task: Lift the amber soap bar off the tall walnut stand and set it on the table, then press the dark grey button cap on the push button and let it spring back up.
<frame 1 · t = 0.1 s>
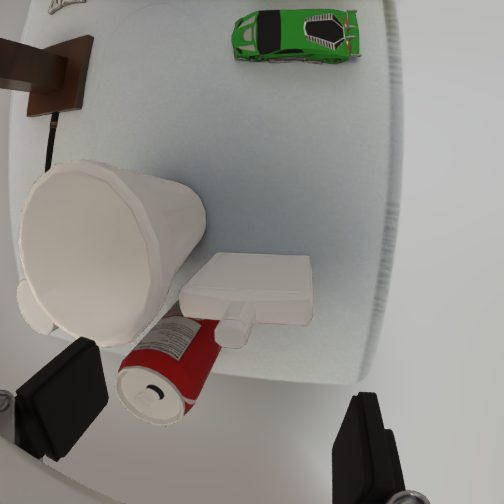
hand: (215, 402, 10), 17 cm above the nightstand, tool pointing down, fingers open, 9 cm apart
stand: (59, 77, 25), on the nightstand
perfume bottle: (262, 263, 26), on the nightstand
toy car: (294, 39, 21), on the nightstand
pill bottle: (101, 269, 29), on the nightstand
fountain pen: (50, 144, 27), on the nightstand, touching stand
soda can: (202, 317, 29), on the nightstand
cup: (174, 217, 27), on the nightstand
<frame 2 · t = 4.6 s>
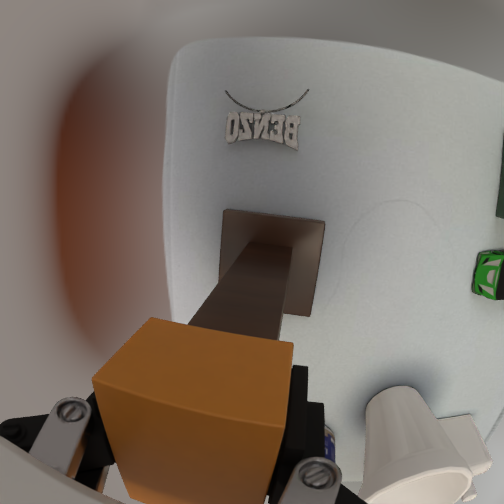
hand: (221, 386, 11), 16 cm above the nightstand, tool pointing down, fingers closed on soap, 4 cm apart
soap: (215, 401, 10), point 17 cm above the nightstand, touching gripper, stand
stand: (269, 262, 26), on the nightstand
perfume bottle: (442, 421, 28), on the nightstand
necklace: (265, 117, 23), on the nightstand
cup: (392, 404, 28), on the nightstand
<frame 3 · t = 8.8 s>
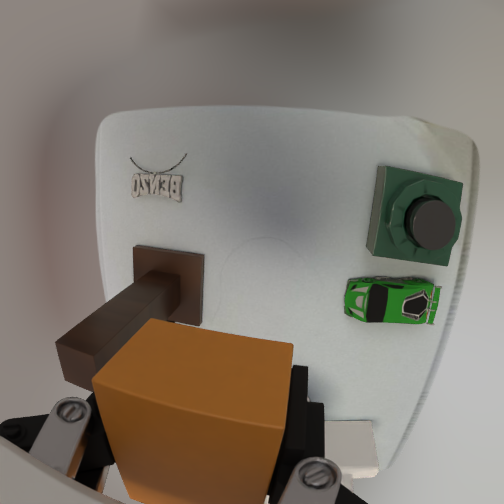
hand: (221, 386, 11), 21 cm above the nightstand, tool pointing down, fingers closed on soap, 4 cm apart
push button: (409, 213, 28), on the nightstand
soap: (215, 402, 10), point 22 cm above the nightstand, touching gripper
stand: (168, 284, 34), on the nightstand
dark grey button cap: (430, 223, 23), point 6 cm above the nightstand, slide at 0.1 cm
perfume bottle: (341, 424, 36), on the nightstand
toy car: (389, 296, 31), on the nightstand
necklace: (159, 176, 31), on the nightstand
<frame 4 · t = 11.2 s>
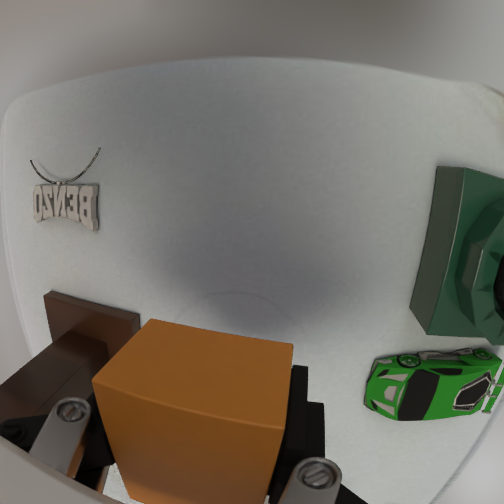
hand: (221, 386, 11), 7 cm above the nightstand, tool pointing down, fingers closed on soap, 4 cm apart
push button: (481, 249, 15), on the nightstand
soap: (215, 402, 10), point 8 cm above the nightstand, touching gripper
stand: (97, 349, 21), on the nightstand
toy car: (433, 377, 17), on the nightstand
necklace: (67, 187, 18), on the nightstand
when the fingers open (0 cm above the nightstand, at t = 13.4 s): soap drops 1 cm, on the nightstand.
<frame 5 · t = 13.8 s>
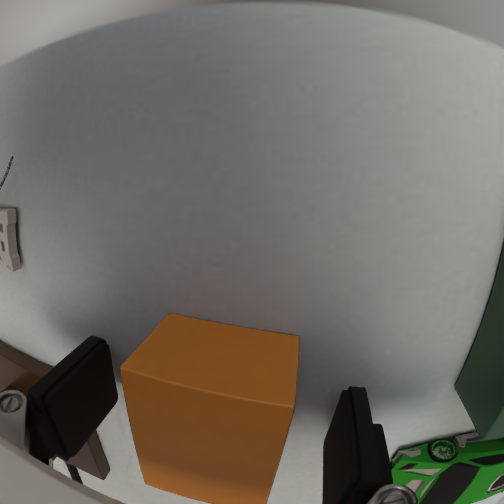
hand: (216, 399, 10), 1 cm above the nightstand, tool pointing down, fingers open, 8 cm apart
soap: (226, 391, 11), on the nightstand
stand: (45, 407, 14), on the nightstand
toy car: (467, 455, 11), on the nightstand
fountain pen: (70, 464, 17), on the nightstand, touching stand
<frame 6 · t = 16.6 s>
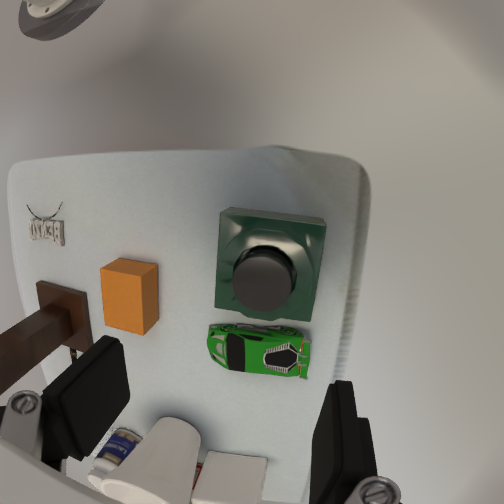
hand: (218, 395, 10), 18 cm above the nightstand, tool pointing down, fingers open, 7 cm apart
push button: (271, 257, 27), on the nightstand
soap: (138, 289, 31), on the nightstand
stand: (66, 315, 34), on the nightstand
dark grey button cap: (263, 280, 22), point 6 cm above the nightstand, slide at 0.1 cm
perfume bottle: (237, 456, 35), on the nightstand
toy car: (258, 344, 30), on the nightstand
necklace: (48, 221, 31), on the nightstand
pill bottle: (131, 439, 38), on the nightstand
fountain pen: (73, 361, 36), on the nightstand, touching stand
soda can: (202, 471, 38), on the nightstand
cup: (179, 430, 36), on the nightstand
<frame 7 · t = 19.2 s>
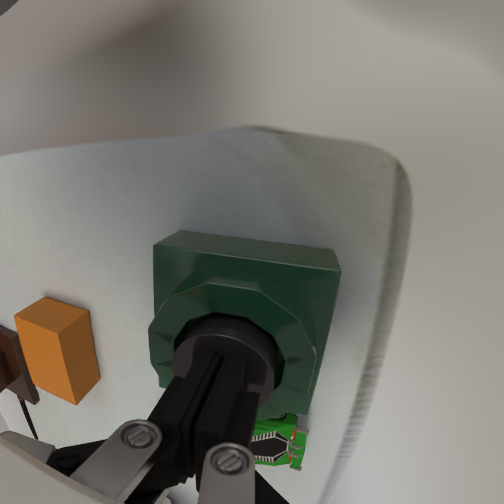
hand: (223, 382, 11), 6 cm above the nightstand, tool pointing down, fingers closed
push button: (247, 311, 17), on the nightstand
soap: (71, 339, 20), on the nightstand
stand: (5, 356, 23), on the nightstand
dark grey button cap: (226, 364, 12), point 5 cm above the nightstand, slide at -0.5 cm, touching gripper
toy car: (233, 421, 20), on the nightstand
fountain pen: (23, 404, 26), on the nightstand, touching stand
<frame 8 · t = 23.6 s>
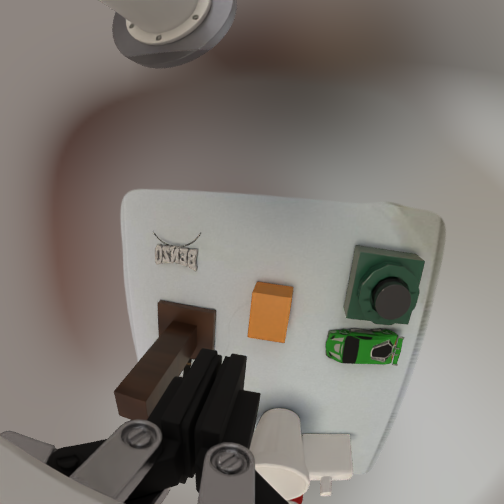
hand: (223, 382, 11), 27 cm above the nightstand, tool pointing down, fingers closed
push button: (380, 280, 36), on the nightstand
soap: (272, 306, 39), on the nightstand
stand: (187, 330, 42), on the nightstand
dark grey button cap: (391, 298, 31), point 6 cm above the nightstand, slide at 0.1 cm
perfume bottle: (325, 436, 44), on the nightstand
toy car: (362, 342, 39), on the nightstand
necklace: (177, 247, 40), on the nightstand
fountain pen: (182, 369, 45), on the nightstand, touching stand
cup: (280, 419, 45), on the nightstand
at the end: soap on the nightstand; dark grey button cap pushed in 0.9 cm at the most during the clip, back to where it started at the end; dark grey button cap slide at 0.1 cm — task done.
